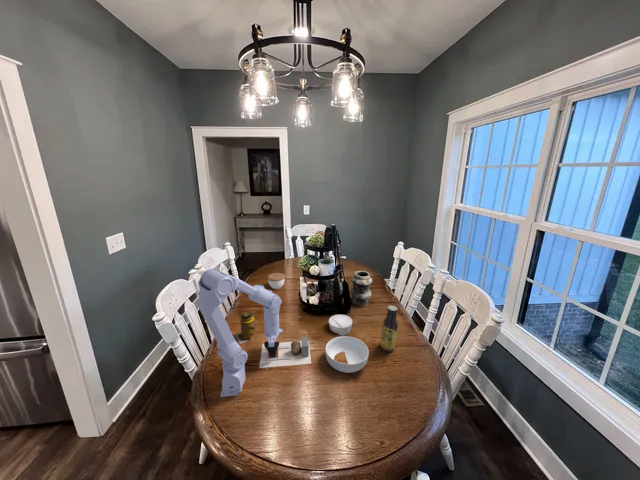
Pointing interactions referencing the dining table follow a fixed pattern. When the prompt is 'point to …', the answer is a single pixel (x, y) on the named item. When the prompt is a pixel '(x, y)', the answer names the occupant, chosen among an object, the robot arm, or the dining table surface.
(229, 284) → the robot arm
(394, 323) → the sauce bottle
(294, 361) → the press base
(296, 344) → the walnut
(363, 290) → the apothecary jar
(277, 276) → the lidded jar
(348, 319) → the ramekin
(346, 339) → the cereal bowl
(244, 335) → the condiment
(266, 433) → the dining table surface
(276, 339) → the pinkish red block
